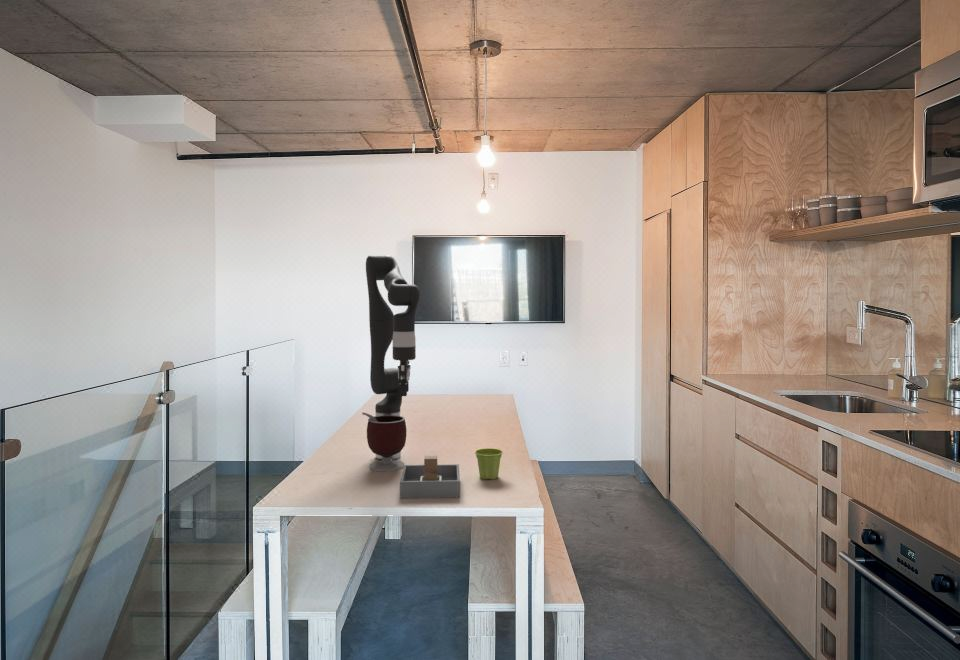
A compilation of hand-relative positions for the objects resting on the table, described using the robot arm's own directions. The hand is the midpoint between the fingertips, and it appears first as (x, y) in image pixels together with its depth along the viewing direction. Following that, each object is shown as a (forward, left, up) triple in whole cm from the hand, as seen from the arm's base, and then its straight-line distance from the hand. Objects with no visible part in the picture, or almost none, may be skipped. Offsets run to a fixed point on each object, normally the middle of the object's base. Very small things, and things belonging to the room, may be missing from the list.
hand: (404, 393), depth 205 cm
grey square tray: (+12, +9, -28) cm, 32 cm away
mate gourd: (-13, -8, -28) cm, 32 cm away
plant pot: (+1, +28, -28) cm, 40 cm away
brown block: (+12, +9, -27) cm, 31 cm away
